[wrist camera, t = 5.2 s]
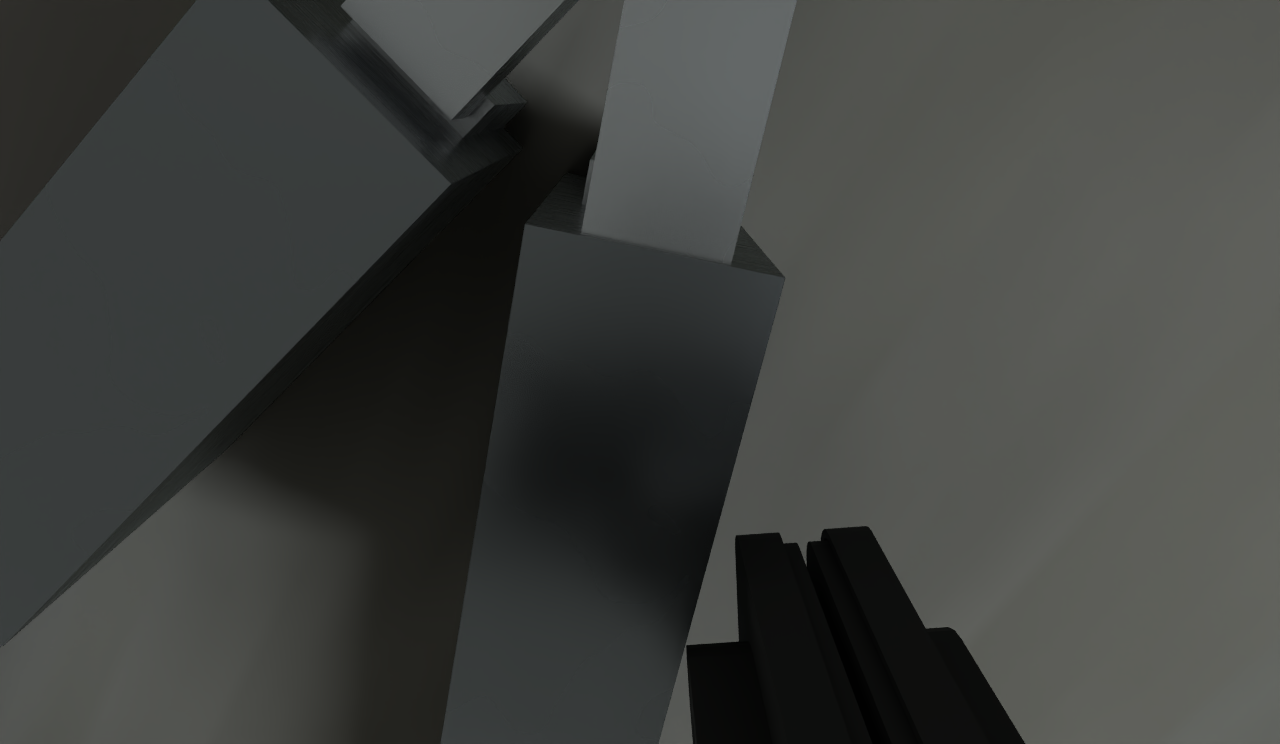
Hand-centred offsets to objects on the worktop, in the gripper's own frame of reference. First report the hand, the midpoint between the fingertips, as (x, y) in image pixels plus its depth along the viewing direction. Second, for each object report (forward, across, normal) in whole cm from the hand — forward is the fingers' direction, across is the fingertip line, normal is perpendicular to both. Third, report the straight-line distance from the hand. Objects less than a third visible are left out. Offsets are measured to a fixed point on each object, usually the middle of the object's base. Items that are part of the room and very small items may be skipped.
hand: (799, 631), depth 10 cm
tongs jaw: (+4, +4, +3) cm, 6 cm away
